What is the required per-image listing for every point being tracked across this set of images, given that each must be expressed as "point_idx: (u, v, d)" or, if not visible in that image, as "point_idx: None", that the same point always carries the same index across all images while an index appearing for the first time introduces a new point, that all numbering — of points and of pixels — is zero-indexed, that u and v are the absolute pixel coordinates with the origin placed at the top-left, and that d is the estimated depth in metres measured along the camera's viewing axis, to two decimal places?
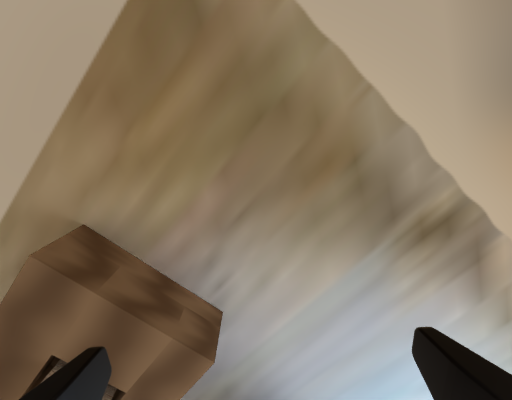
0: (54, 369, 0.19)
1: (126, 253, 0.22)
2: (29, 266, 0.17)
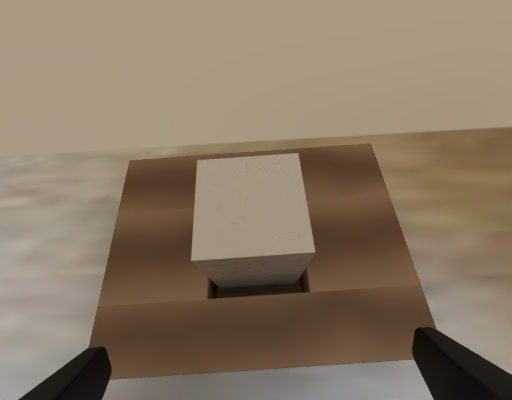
0: None
1: None
2: (362, 147, 0.20)
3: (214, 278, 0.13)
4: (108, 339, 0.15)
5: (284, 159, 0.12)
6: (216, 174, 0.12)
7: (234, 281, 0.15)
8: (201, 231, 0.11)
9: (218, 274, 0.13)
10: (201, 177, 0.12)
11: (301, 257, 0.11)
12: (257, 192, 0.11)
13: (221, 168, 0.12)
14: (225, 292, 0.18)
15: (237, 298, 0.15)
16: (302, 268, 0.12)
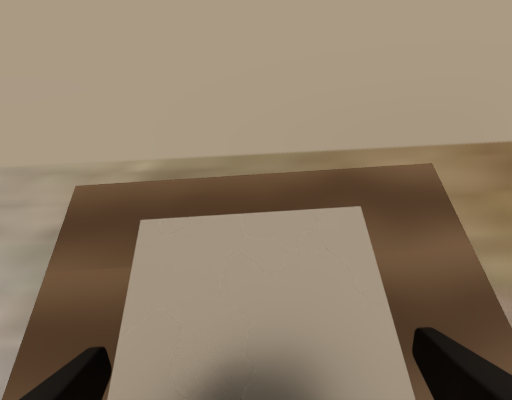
0: None
1: None
2: (419, 169, 0.14)
3: None
4: None
5: (331, 220, 0.06)
6: (178, 258, 0.05)
7: None
8: None
9: None
10: (144, 264, 0.05)
11: None
12: (273, 311, 0.05)
13: (191, 241, 0.05)
14: None
15: None
16: None
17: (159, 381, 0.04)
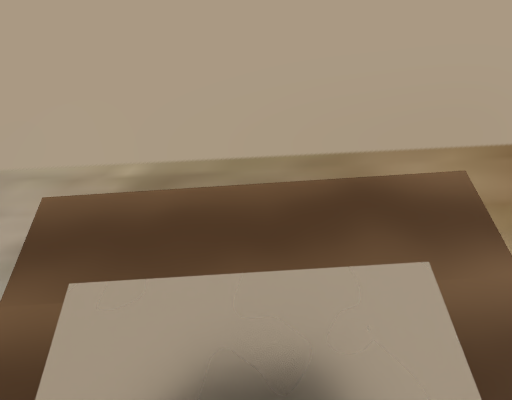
0: None
1: None
2: (451, 177, 0.12)
3: None
4: None
5: (382, 287, 0.03)
6: (124, 359, 0.03)
7: None
8: None
9: None
10: (64, 371, 0.03)
11: None
12: None
13: (148, 326, 0.03)
14: None
15: None
16: None
17: None
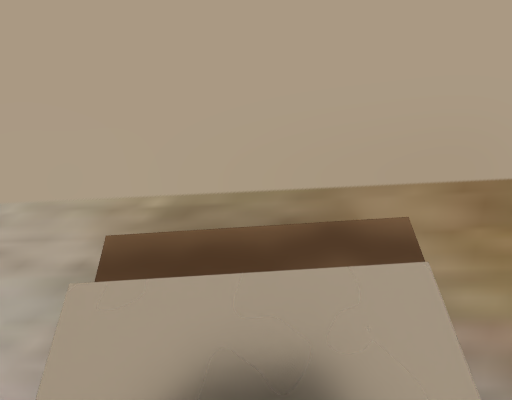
0: None
1: None
2: (397, 222, 0.16)
3: None
4: None
5: (383, 287, 0.03)
6: (124, 359, 0.03)
7: None
8: None
9: None
10: (64, 371, 0.03)
11: None
12: None
13: (148, 326, 0.03)
14: None
15: None
16: None
17: None
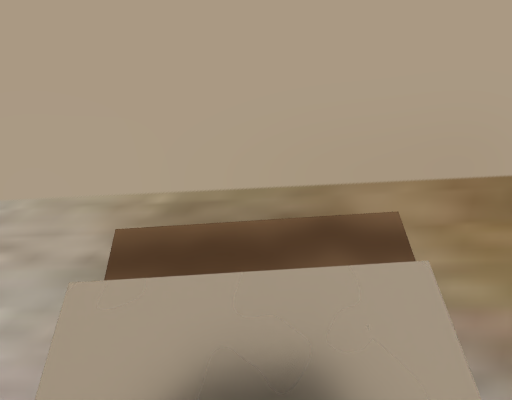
0: None
1: None
2: (388, 216, 0.17)
3: None
4: None
5: (382, 286, 0.03)
6: (124, 358, 0.03)
7: None
8: None
9: None
10: (64, 370, 0.03)
11: None
12: None
13: (148, 325, 0.03)
14: None
15: None
16: None
17: None
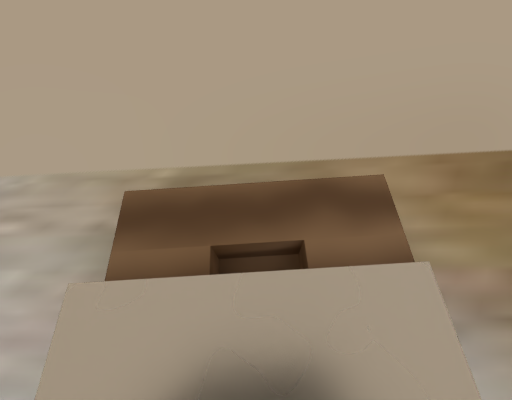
0: None
1: None
2: (374, 178, 0.19)
3: None
4: None
5: (382, 287, 0.03)
6: (123, 359, 0.03)
7: None
8: None
9: None
10: (63, 371, 0.03)
11: None
12: None
13: (148, 326, 0.03)
14: None
15: None
16: None
17: None
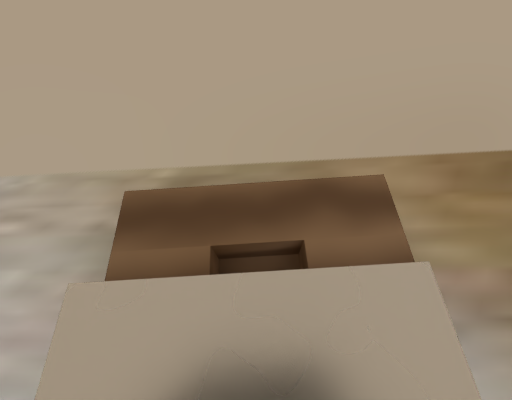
0: None
1: None
2: (374, 178, 0.19)
3: None
4: None
5: (382, 287, 0.03)
6: (123, 359, 0.03)
7: None
8: None
9: None
10: (63, 371, 0.03)
11: None
12: None
13: (148, 326, 0.03)
14: None
15: None
16: None
17: None
